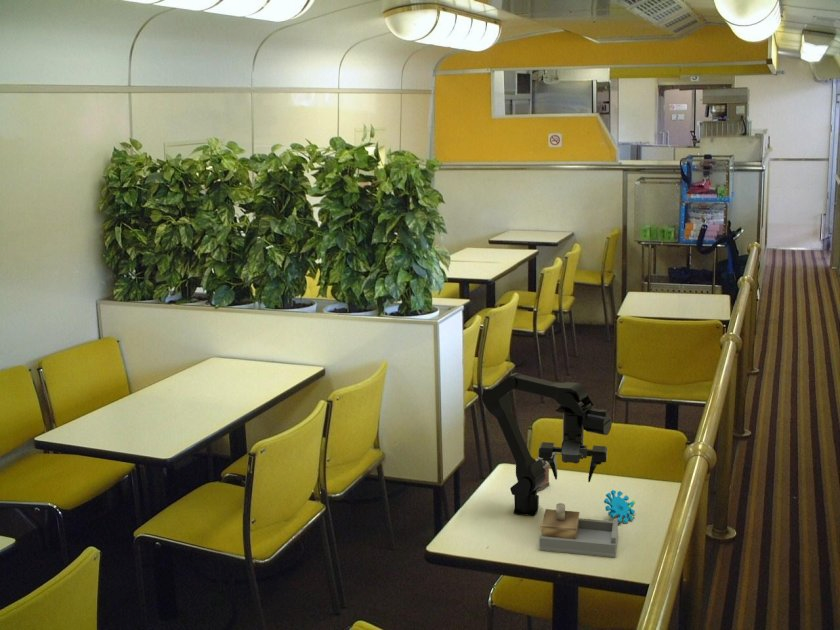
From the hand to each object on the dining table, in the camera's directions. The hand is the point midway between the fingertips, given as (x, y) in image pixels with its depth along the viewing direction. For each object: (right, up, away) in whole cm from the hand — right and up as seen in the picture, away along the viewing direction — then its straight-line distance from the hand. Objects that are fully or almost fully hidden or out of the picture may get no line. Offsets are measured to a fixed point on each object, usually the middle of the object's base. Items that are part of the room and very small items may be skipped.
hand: (572, 480), depth 259 cm
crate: (-5, -14, -7) cm, 16 cm away
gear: (+15, -12, +5) cm, 20 cm away
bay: (0, -15, -8) cm, 17 cm away
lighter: (-6, -7, +27) cm, 28 cm away
